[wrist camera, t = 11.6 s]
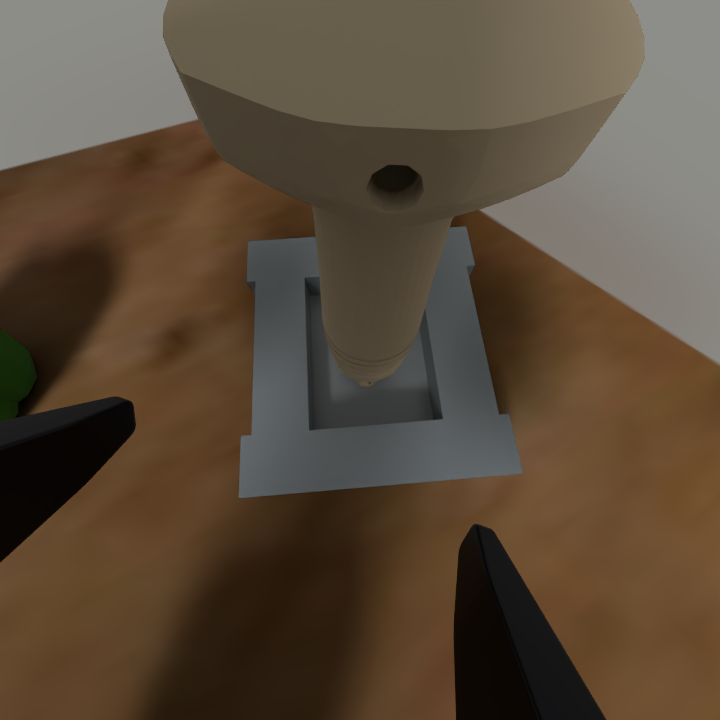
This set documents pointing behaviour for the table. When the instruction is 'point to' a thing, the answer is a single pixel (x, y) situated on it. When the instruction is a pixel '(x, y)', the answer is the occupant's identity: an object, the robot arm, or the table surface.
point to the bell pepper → (14, 375)
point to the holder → (367, 405)
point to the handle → (399, 126)
